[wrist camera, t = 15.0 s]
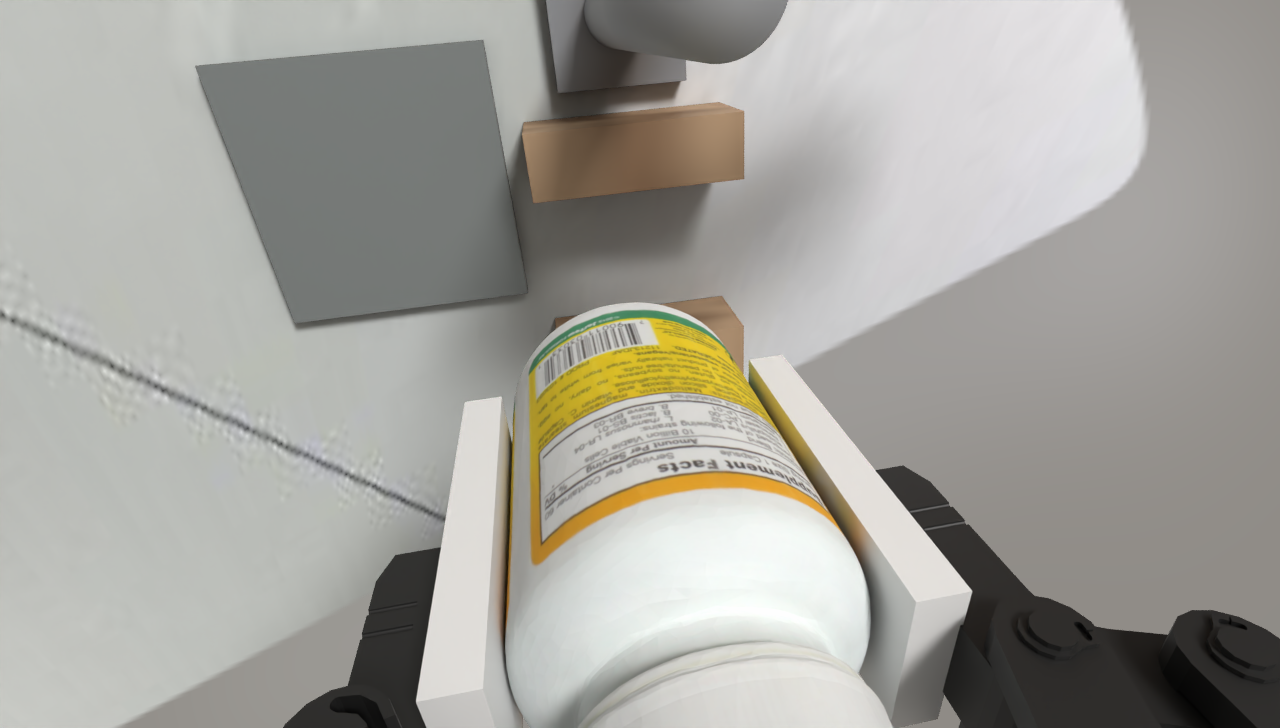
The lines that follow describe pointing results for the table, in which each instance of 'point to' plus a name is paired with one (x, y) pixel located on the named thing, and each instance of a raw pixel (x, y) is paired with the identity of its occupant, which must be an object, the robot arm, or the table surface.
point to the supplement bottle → (671, 544)
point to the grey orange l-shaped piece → (684, 26)
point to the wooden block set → (631, 142)
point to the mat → (373, 176)
